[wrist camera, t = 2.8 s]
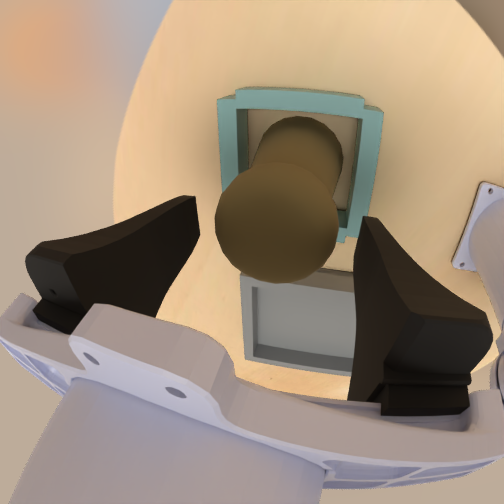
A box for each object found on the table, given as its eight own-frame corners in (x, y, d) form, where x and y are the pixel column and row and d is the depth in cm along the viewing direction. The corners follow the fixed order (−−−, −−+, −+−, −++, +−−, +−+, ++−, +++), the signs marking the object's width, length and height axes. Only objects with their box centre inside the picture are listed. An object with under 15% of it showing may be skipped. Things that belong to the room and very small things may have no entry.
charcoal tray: (421, 282, 22) (426, 302, 21) (380, 361, 30) (380, 379, 28) (247, 257, 26) (239, 275, 24) (250, 342, 34) (244, 359, 32)
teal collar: (378, 98, 15) (384, 102, 13) (358, 227, 21) (360, 245, 19) (229, 87, 17) (216, 90, 15) (235, 211, 23) (224, 227, 21)
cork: (294, 210, 22) (262, 320, 13) (241, 150, 20) (165, 230, 12) (360, 168, 18) (379, 268, 10) (305, 98, 17) (276, 134, 8)
